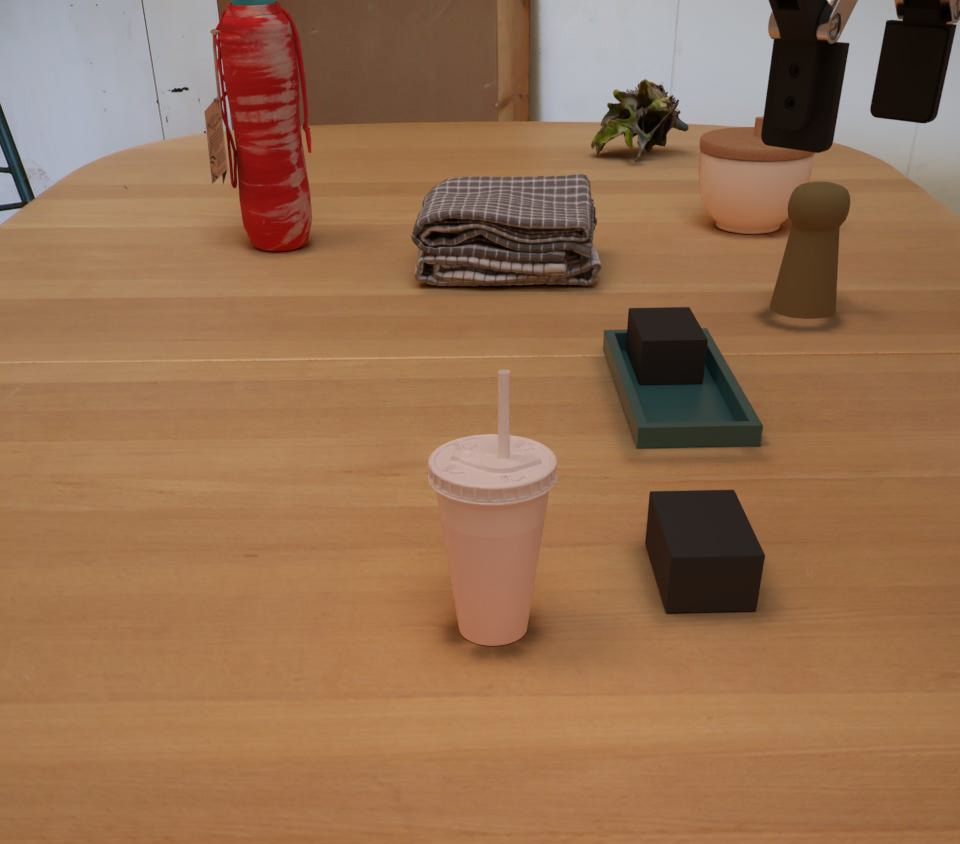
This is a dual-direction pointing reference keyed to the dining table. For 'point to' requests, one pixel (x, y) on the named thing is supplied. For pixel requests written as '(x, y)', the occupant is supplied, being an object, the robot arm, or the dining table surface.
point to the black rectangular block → (703, 551)
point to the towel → (507, 232)
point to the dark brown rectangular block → (666, 346)
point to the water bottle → (262, 122)
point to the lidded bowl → (749, 179)
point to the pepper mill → (811, 252)
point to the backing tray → (683, 404)
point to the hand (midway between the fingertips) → (851, 132)
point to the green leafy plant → (640, 117)
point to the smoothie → (493, 523)
